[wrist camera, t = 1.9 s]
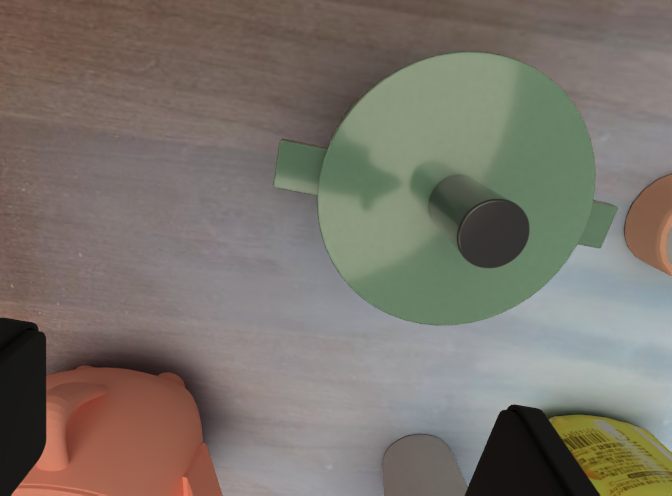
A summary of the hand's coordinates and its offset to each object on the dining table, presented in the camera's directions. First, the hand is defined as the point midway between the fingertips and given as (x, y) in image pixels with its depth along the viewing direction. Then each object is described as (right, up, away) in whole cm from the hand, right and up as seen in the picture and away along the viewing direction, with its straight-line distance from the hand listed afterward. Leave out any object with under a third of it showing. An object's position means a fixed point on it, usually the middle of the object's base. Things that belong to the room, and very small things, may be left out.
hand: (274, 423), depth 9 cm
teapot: (-16, -12, +29) cm, 35 cm away
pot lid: (+7, +6, +13) cm, 16 cm away
